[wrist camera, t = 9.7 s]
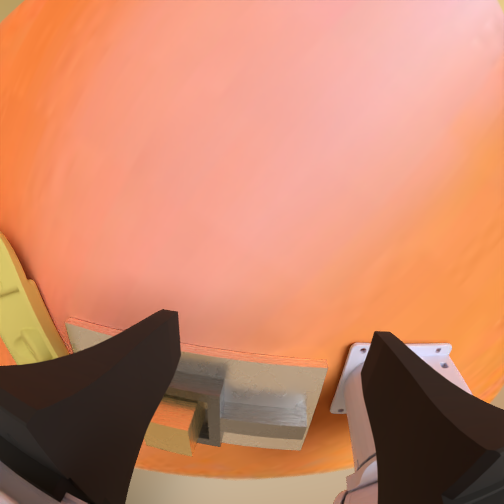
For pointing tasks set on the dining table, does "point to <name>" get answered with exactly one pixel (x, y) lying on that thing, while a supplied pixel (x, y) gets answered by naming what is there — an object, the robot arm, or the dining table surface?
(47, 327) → the plastic component
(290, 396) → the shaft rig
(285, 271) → the dining table surface
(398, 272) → the dining table surface
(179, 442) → the tan small block
